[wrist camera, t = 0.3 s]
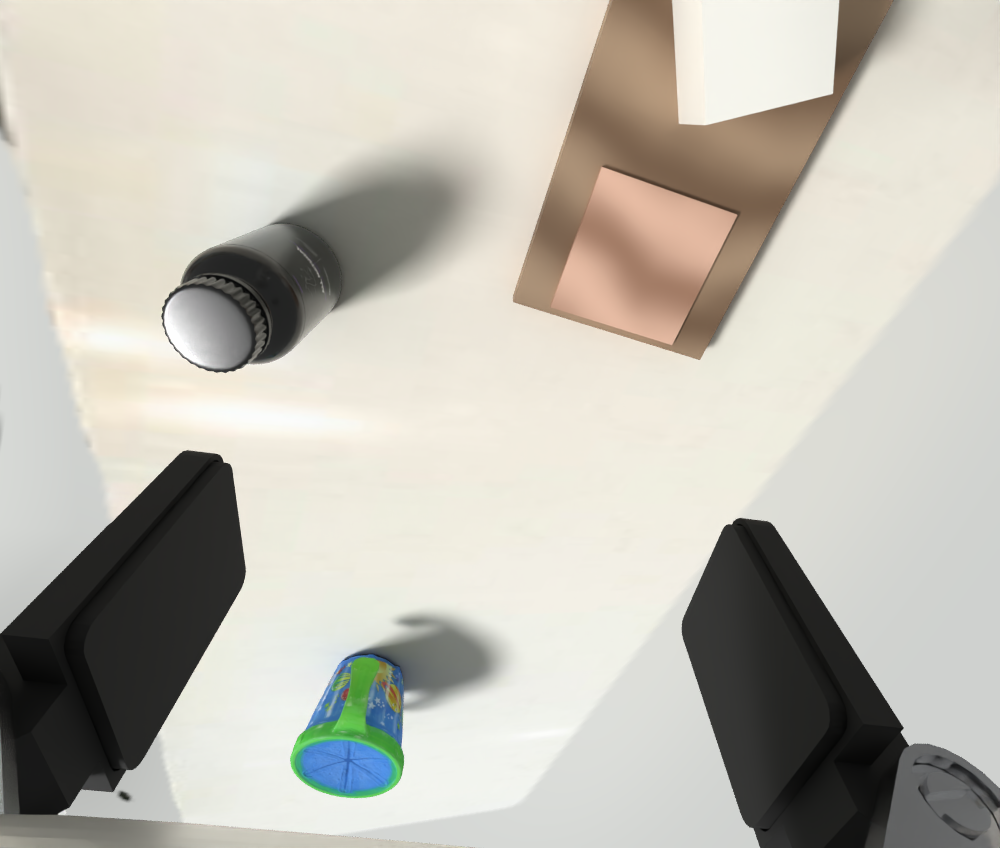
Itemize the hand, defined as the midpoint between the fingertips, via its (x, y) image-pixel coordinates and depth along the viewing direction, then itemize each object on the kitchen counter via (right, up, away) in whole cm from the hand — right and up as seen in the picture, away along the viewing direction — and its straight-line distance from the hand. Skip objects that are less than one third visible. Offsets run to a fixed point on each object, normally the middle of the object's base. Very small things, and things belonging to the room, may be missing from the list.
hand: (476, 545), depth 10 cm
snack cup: (-14, -25, +49) cm, 57 cm away
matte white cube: (+13, +23, +19) cm, 32 cm away
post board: (+11, +19, +23) cm, 32 cm away
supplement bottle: (-14, +13, +27) cm, 33 cm away
